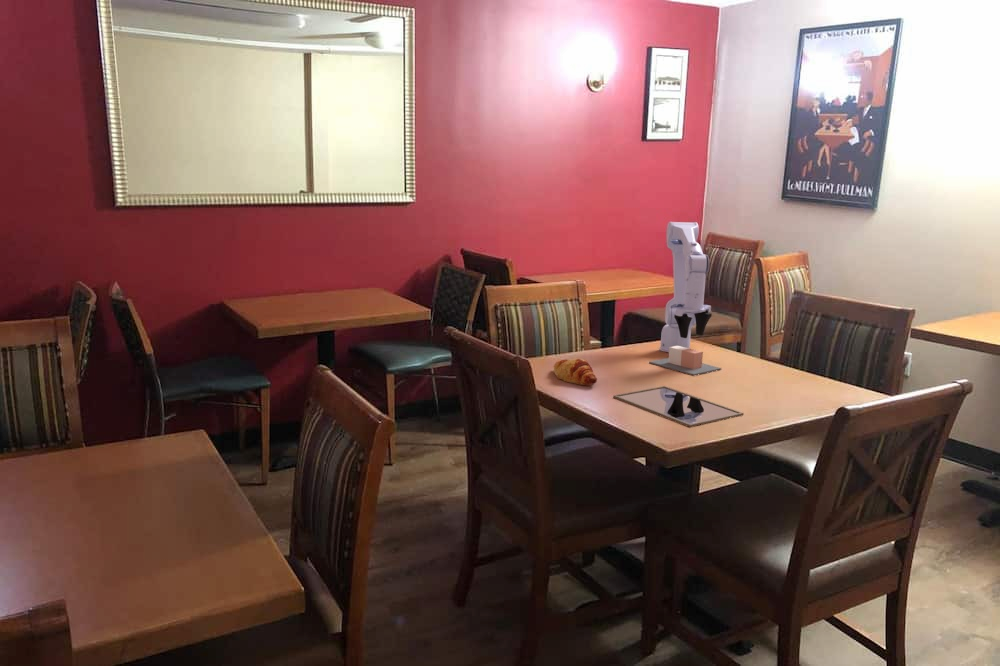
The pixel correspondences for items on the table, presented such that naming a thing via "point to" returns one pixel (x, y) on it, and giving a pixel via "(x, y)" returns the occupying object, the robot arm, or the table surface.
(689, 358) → the two-tone block
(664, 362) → the mat
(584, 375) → the croissant
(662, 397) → the picture frame
